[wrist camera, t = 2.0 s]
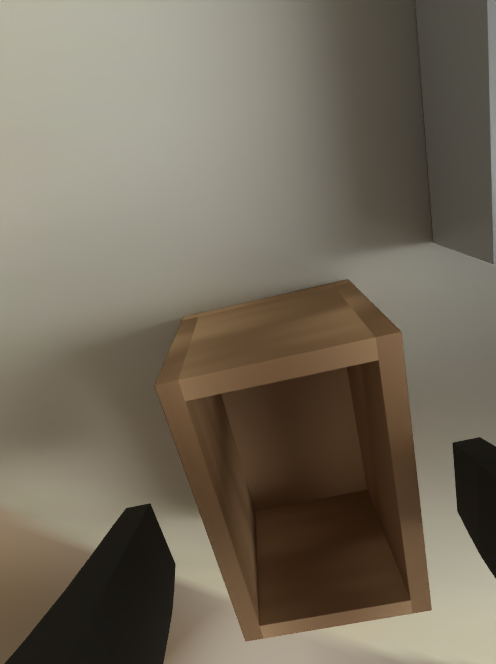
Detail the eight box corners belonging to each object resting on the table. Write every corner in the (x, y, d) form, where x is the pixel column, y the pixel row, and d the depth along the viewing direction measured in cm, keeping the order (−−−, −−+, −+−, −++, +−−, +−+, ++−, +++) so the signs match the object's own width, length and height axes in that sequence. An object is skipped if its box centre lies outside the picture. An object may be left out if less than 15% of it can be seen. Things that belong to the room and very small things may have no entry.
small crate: (346, 277, 12) (401, 331, 8) (378, 487, 15) (431, 610, 11) (184, 315, 13) (154, 385, 8) (245, 513, 15) (245, 641, 11)
